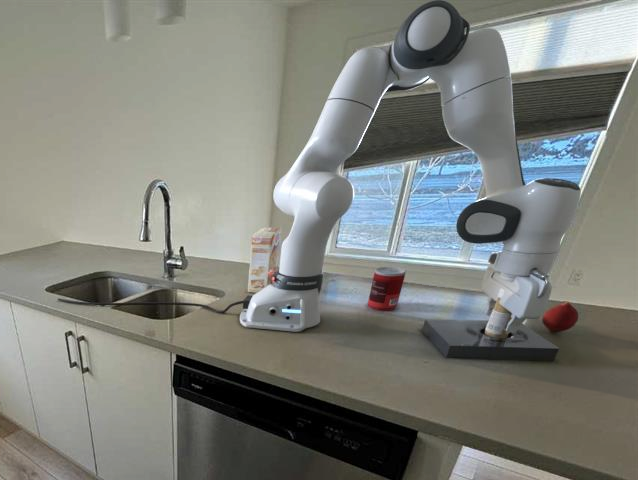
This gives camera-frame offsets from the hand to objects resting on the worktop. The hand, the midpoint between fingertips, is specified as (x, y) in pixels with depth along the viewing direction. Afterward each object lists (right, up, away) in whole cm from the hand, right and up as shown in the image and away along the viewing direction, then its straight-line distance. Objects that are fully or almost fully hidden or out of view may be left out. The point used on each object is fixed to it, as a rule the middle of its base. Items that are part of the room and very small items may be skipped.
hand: (499, 323), depth 93 cm
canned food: (-9, +9, +29) cm, 32 cm away
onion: (+18, -2, +5) cm, 19 cm away
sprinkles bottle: (+1, -5, +3) cm, 6 cm away
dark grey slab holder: (-1, -5, +3) cm, 6 cm away
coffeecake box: (-37, +21, +54) cm, 69 cm away
